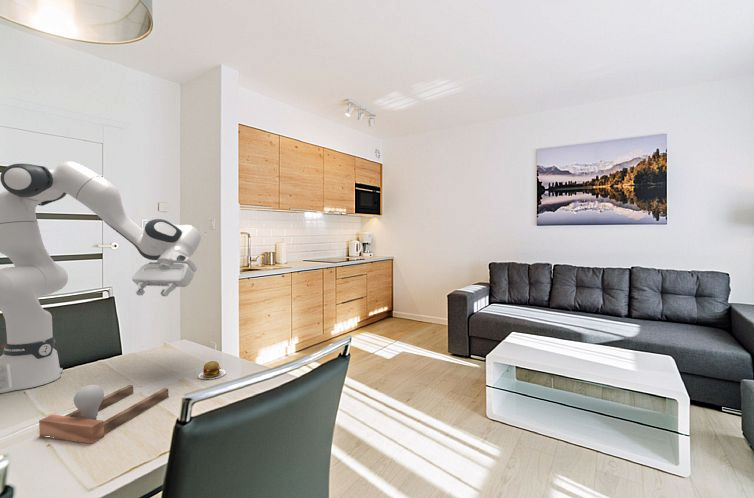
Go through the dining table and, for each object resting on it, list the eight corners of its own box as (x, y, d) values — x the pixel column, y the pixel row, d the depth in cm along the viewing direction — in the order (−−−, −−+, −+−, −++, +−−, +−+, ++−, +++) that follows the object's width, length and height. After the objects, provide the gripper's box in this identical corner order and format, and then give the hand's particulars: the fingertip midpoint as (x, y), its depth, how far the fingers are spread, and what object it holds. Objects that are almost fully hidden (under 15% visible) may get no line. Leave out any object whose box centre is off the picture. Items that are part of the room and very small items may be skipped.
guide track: (127, 392, 114) (126, 379, 114) (170, 396, 111) (170, 383, 111) (39, 436, 90) (39, 420, 90) (92, 443, 87) (91, 427, 87)
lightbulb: (104, 419, 98) (103, 378, 98) (105, 428, 93) (103, 386, 93) (75, 426, 94) (73, 384, 94) (74, 437, 90) (72, 393, 89)
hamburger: (237, 372, 133) (237, 357, 133) (216, 385, 121) (215, 369, 121) (208, 369, 135) (208, 354, 135) (185, 382, 124) (184, 366, 124)
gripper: (141, 256, 130) (118, 288, 120) (192, 257, 126) (172, 290, 117) (151, 268, 134) (130, 299, 125) (201, 269, 130) (182, 301, 121)
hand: (150, 294), depth 121 cm, fingers open, 8 cm apart
